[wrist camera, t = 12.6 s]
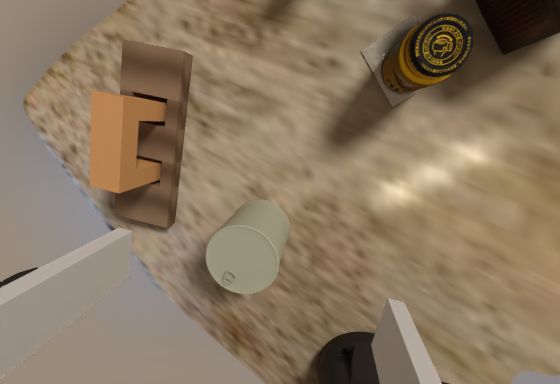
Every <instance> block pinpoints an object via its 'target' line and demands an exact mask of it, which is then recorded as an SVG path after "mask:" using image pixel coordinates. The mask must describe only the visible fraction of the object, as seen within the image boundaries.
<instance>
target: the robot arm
mask: <svg viewBox="0 0 560 384" xmlns="http://www.w3.org/2000/svg"><path fill="white" fill-rule="evenodd" d="M131 246H132V231H130V230H126V229H122V228H117V229H115V230H113V231H111V232H109V233H107V234H106V235H104V236H102V237H100V238H98V239H96V240H94V241H92V242H90V243H88V244H86V245H84V246H82V247H80V248H78V249H76V250H74V251H72V252H70V253H68V254H66V255H64V256H62V257H60V258H58V259H56V260H54V261H53V262H50V263H48V264H46V265H44V266H42V267H41V268H37V267H36V268H33V269H30V270H26V271H23V272H20V273H17V274H15V275H13V276H11V277H9V278H7V279H5V280H4V281H3V282H0V379H2V378H3V377H5V376H6V375H7V374H8V373H9V372H11V371H12V370H13V369H15V368H16V367H17V366H18V365H20V364H21V363H22V362H23V361H25V360H26V359H27V358H28V357H30V356H31V355H32V354H33V353H35V352H36V351H37V350H38V349H40V348H41V347H42V346H44V345H45V344H46V343H47V342H49V341H50V340H51V339H52V338H54V337H55V336H56V335H57V334H59V333H60V332H61V331H62V330H64V329H65V328H66V327H68V326H69V325H70V324H71V323H72V322H74V321H75V320H76V319H78V318H79V317H80V316H81V315H83V314H84V313H85V312H86V311H88V310H89V309H90V308H91V307H93V306H94V305H95V304H96V303H98V302H99V301H100V300H101V299H103V298H104V297H105V296H107V295H108V294H109V293H110V292H112V291H113V290H114V289H115V288H117V287H118V286H119V285H120V284H122V283H123V282H124V281H125V280H127V279H128V278H129V277H130V261H131ZM318 380H319V384H448V383H444V382H441V381H440V379H439V376H438V374H437V372H436V370H435V368H434V366H433V364H432V361H431V359H430V357H429V355H428V353H427V351H426V348H425V346H424V344H423V342H422V340H421V338H420V336H419V333H418V331H417V329H416V327H415V325H414V323H413V320H412V318H411V316H410V314H409V312H408V310H407V308H406V305H405V303H404V302H401V301H397V300H393V299H389V298H388V299H387V302H386V304H385V307H384V310H383V313H382V316H381V318H380V321H379V324H378V327H377V330H376V333H375V334H373V333H368V332H352V333H347V334H344V335H341V336H338V337H336V338H335V339H333V340H332V341H330V342H329V343H328V344H327V345H326V346H325V347H324V349H323V350H322V352H321V354H320V357H319V361H318Z"/></svg>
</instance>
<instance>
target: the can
mask: <svg viewBox="0 0 560 384" xmlns="http://www.w3.org/2000/svg"><path fill="white" fill-rule="evenodd" d="M289 233H290V224H289V220H288V217H287V215H286V214H285V212H284V211H283V210H282V209H281V208H280V207H279V206H278V205H276V204H275V203H273V202H271V201H268V200H262V199H257V200H252V201H249V202H247V203H245V204H243V205H242V206H241V207H240V208H239V209H238V211H237V212H236V214H235V215H234V216H233V217H232V218H231V219H230V220H229V221H228V222H227V223H226V224H225V225H224V226H223V227H222V228H221V229H220V230H219V231H217V232H216V233H215V234H214V235H213V236H212V238H211V239H210V241H209V243H208V245H207V248H206V255H205V257H206V264H207V267H208V270H209V272H210V274H211V275H212V277H213V278H214V279H215V281H216V282H217V283H218V284H220V285H221V286H222V287H224V288H225V289H227V290H229V291H231V292H234V293H238V294H254V293H257V292H260V291H262V290H264V289H266V288H267V287H268V286H269V285H270V284H271V283H272V282H273V281H274V279H275V278H276V276H277V273H278V269H279V263H280V260H281V256H282V253H283V249H284V246H285V243H286V241H287V240H288V237H289Z"/></svg>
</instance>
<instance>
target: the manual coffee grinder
mask: <svg viewBox="0 0 560 384" xmlns="http://www.w3.org/2000/svg"><path fill="white" fill-rule="evenodd" d="M476 2H477V4H478V6H479V8H480V10H481V13H482V15H483V17H484V19H485V21H486V23H487V25H488V27H489V29H490V31H491V33H492V35H493V37H494V39H495V41H496V42H497V44H498V46H499V48H500V50H501V52H502V54H503V55H505V54H507V53H509V52H512V51H514V50H517V49H519V48H522V47H524V46H527V45H530V44H532V43H535V42H537V41H539V40H542V39H544V38H547V37H549V36H551V35H554V34H556V33H559V32H560V0H476Z"/></svg>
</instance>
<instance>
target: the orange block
mask: <svg viewBox="0 0 560 384" xmlns="http://www.w3.org/2000/svg"><path fill="white" fill-rule="evenodd" d="M166 108H167V103H164V102H160V101H155V100H150V99H145V98H138V97H132V96H125V95H118V94H112V93H105V92H98V91H92V100H91V152H90V186H91V187H95V188H99V189H103V190H107V191H111V192H115V193H122V192H125V191H128V190H131V189H133V188H136V187H139V186H142V185H145V184H148V183H151V182H154V181H157V180H160V176H161V165H162V161H159V160H155V159H150V158H146V157H139V158H137V142H138V126H139V121H165V119H166Z"/></svg>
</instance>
